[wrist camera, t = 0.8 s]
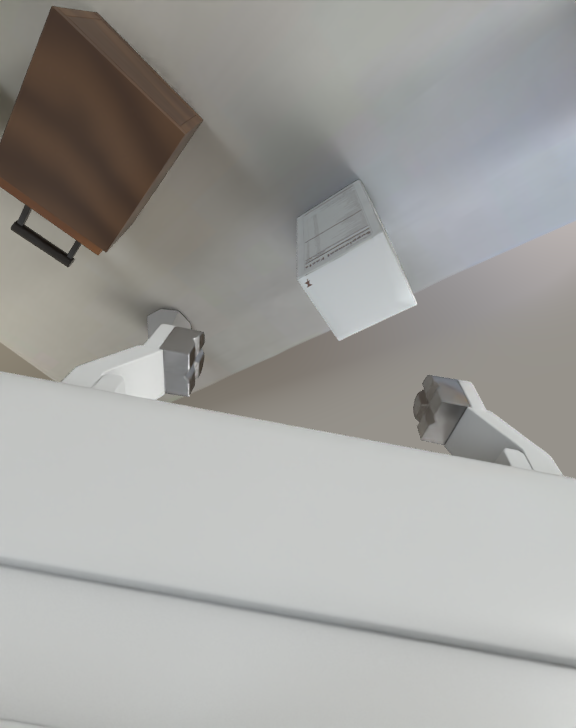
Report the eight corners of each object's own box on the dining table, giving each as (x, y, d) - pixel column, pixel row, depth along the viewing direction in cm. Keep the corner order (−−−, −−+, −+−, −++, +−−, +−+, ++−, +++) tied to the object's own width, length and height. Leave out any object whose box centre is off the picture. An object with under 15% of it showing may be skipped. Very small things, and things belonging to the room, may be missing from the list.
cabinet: (131, 225, 49) (106, 252, 43) (35, 150, 44) (-11, 169, 37) (203, 119, 41) (185, 134, 35) (96, 12, 36) (51, 5, 29)
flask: (159, 346, 63) (140, 387, 56) (140, 311, 58) (116, 351, 51) (199, 340, 62) (184, 381, 54) (182, 304, 57) (164, 343, 50)
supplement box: (327, 273, 53) (335, 345, 40) (294, 218, 48) (291, 281, 35) (390, 239, 50) (420, 306, 37) (361, 176, 44) (384, 229, 32)
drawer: (100, 261, 52) (78, 285, 47) (16, 202, 47) (-19, 222, 42) (183, 137, 42) (166, 151, 36) (86, 45, 36) (51, 45, 31)
